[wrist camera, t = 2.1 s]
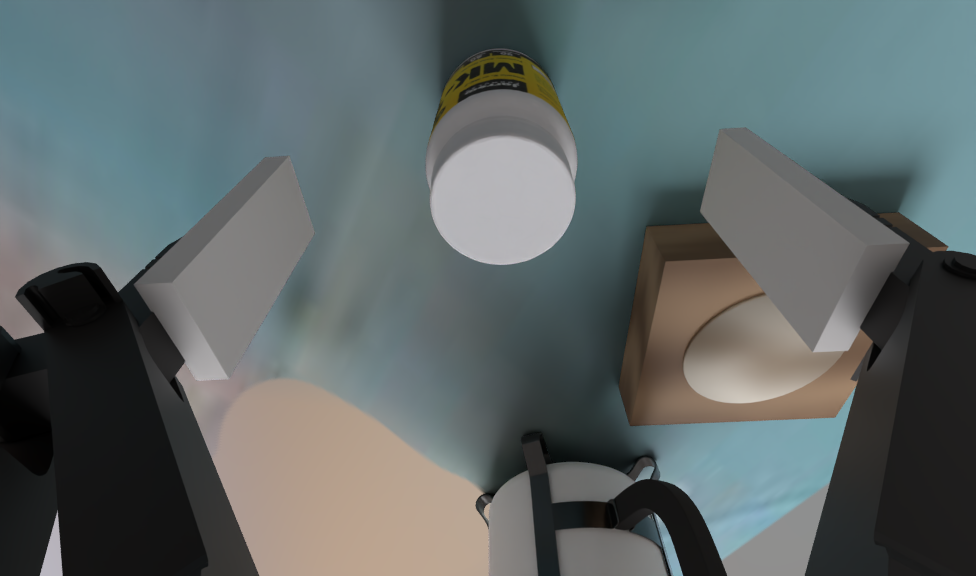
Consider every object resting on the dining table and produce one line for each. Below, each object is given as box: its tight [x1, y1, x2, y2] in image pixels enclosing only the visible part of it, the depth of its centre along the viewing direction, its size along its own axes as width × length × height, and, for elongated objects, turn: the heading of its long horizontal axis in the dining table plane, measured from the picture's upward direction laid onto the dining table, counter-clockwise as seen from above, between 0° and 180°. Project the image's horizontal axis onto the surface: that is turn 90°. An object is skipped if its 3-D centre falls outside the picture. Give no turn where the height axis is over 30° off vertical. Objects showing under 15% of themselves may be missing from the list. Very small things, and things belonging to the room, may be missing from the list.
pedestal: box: [619, 212, 948, 426], centre depth 25 cm, size 12×12×3 cm
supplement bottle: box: [426, 48, 577, 265], centre depth 16 cm, size 5×5×8 cm
